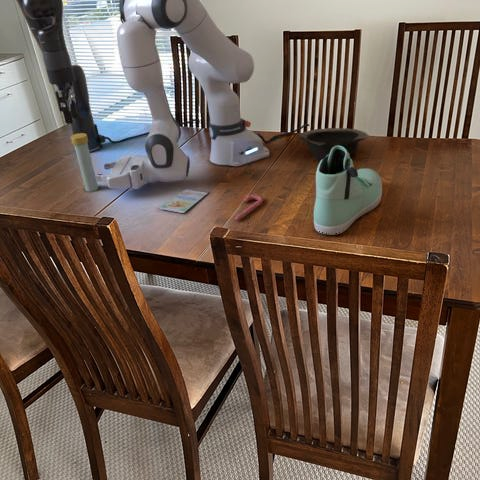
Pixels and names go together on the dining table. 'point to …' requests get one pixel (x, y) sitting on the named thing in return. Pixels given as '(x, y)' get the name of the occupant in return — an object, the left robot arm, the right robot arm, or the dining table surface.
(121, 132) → the dining table surface
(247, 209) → the candy cane
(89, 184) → the mint green cylinder
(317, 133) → the stone bowl
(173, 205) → the baking ingredient package
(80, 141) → the lid
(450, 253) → the dining table surface
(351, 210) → the sneaker
